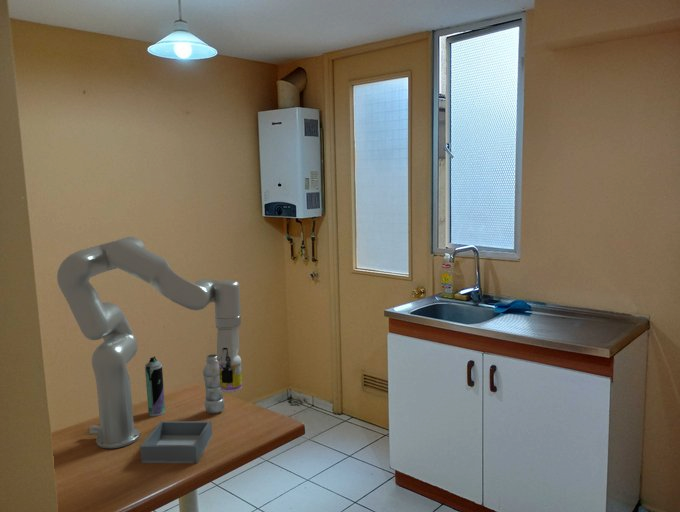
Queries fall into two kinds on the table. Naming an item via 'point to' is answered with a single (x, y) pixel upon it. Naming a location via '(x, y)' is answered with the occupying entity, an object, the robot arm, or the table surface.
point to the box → (176, 442)
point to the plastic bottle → (213, 385)
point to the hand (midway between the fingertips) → (230, 377)
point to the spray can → (155, 387)
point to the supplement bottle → (237, 376)
